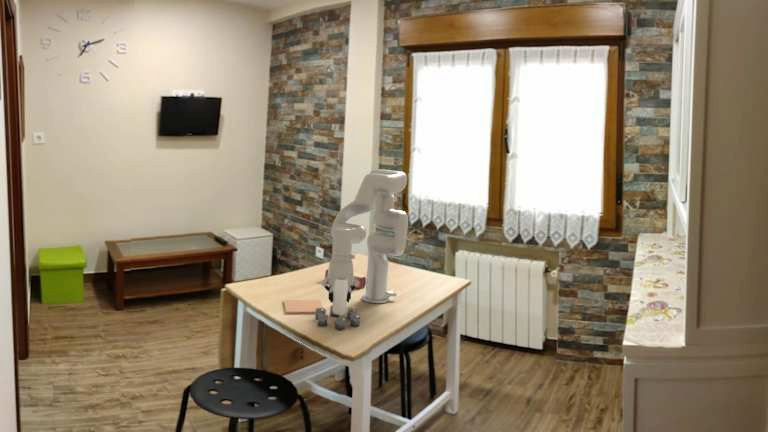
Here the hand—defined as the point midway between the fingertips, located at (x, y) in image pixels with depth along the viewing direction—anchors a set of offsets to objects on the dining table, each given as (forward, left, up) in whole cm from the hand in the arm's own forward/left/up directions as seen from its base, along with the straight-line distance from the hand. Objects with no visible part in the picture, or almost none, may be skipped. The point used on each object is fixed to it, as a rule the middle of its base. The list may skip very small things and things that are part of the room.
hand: (339, 300), depth 243 cm
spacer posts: (0, +1, -9) cm, 9 cm away
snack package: (-11, -55, -9) cm, 57 cm away
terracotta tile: (+12, -17, -9) cm, 23 cm away
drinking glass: (0, 0, -5) cm, 5 cm away
